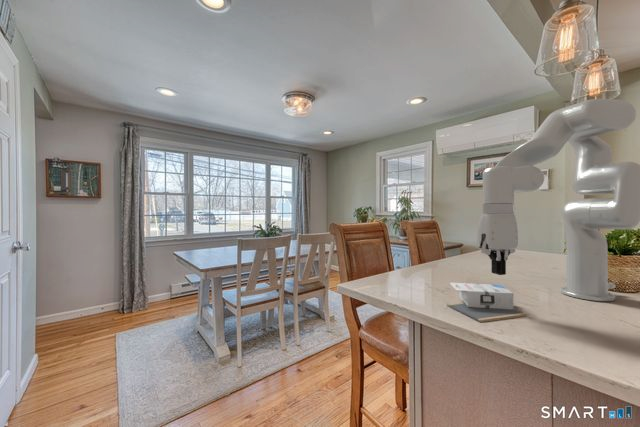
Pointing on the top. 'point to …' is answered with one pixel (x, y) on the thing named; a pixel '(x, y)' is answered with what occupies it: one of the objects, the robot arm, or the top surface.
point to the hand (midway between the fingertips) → (498, 273)
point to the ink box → (485, 295)
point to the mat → (485, 312)
